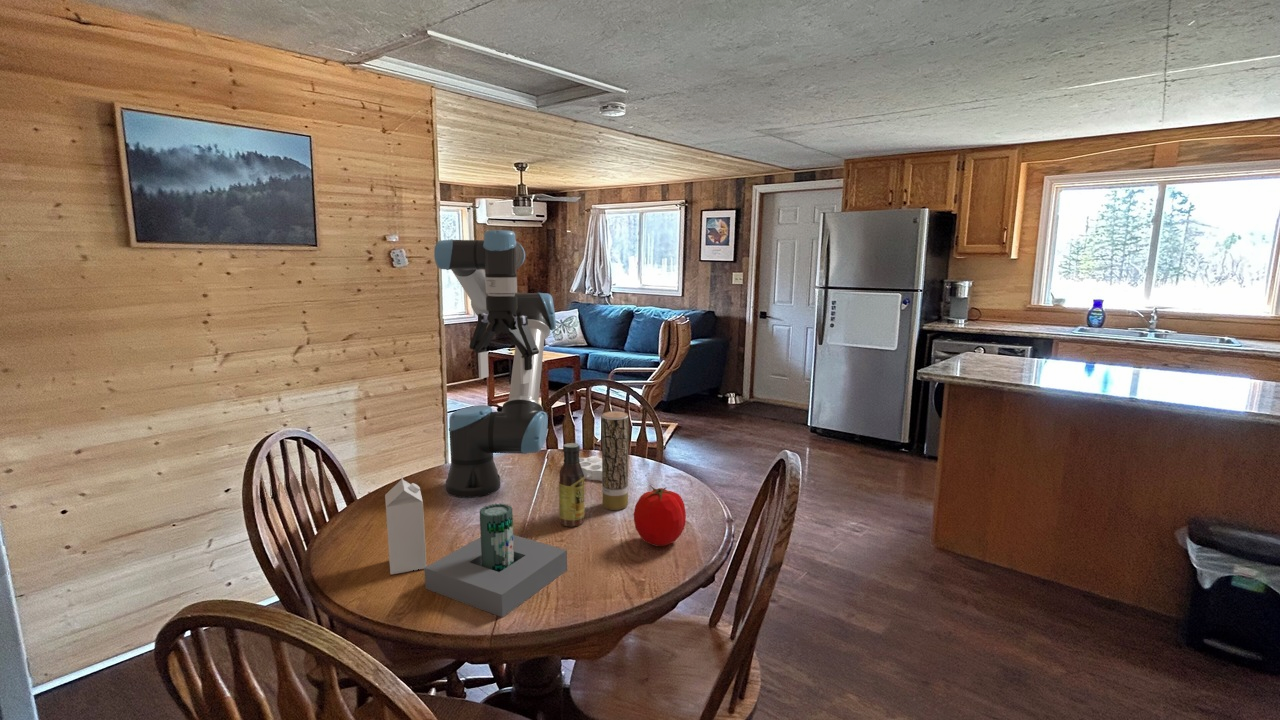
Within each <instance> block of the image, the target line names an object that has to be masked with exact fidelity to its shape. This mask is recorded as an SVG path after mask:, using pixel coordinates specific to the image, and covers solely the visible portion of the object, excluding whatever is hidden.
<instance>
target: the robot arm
mask: <svg viewBox="0 0 1280 720" xmlns="http://www.w3.org/2000/svg"><path fill="white" fill-rule="evenodd" d="M516 239H517V238H516V233H515V232H514V231H512V230H506V229H505V230H503V229H502V230H501V229H500V230H499V229H497V230H493V229H492V230H490V229H489V230H486V231H485V232H484V233H483V239H452V238H451V239H442V240H441V239H440V240H438V241H436V243H435V245H434V251H433V253H434V254H433V256H434V257H433V258H434V262H435V265H436V267H437V268H438V269H440V270H446V271H451V272H452V274H454V276H455V278H456V279H457V282H459V284H460V285H461V287H462V289H463V290H464V292H465V293H466V295H467V297H468V298H469V299H470V305H471V308H472V311H473V312H474V313H475V315H477V323H476V327H475V329H474V333H473V335H472V338H471V341H470V344H469V350H473V351H474V352H475V354H476V364H477V365H478V378H479V379H485V378H489V377H490V372H489V352H488V350H487V348H488V347H489V345H490V343H491V342H492V340H493V339H494V337H495V335H496V334H498V333H499V334H500V333H501V334H506V335H508V336H509V337H510V338H511V339H512V341H513V344H514V345H515V346H514V347H515V348H514V353H513V355H514V356H513V363H512V370H511V379H510V386H509V394H508V395H509V396H508V400H507V401H505V402H504V403H503V404H502V407H501V411H493V408H492V407H491V406H490V405H485V404H481V405H480V404H479V405H472V406H468V407H463V408H459V409H458V410H456V411H454V412H453V413H451V414H450V416H449V426H448V427H449V428H448V431H449V445H450V446H449V447H450V449H449V450H450V467H449V469H448V475H447V478H446V480H445V492H446V493H447V494H448V495H450V496H453V497H458V498H476V497H477V498H478V497H483V496H487V495H490V494H492V493H493V494H494V492H495V493H496V492H497V491H498V490H499V489H500V488H501V476H500V474H499V473H498V469H497V465H496V464H495V461H494V460H495V459H494V454H523V455H527V454H536V453H539V452H540V451H541V450H542V449H543V447H544V445H545V442H546V438H547V434H548V422H549V421H548V420H549V419H548V417H549V416H548V413H547V412H545V411H544V408H543V405H542V404H540V403H539V400H540V391H541V380H542V369H543V359H544V357H543V356H544V348H545V340H547V339H548V337H550V334H551V331H553V330H556V327H557V322H556V311H555V305H554V298H553V295H551V294H550V293H545V292H544V293H543V292H539V291H538V292H534V293H533V292H532V293H531V292H530V293H529V292H528V293H527V292H518V280H517V279H518V276H517V269H519V267H521V266H522V265H523V264H524V262H525V260H526V252H525V249H524V247H523V246H522V245H521V244H520V243H519V242H518V241H516Z"/></svg>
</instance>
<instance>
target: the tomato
mask: <svg viewBox="0 0 1280 720" xmlns="http://www.w3.org/2000/svg"><path fill="white" fill-rule="evenodd" d="M667 487H668V486H665V487H664V488H663V487H659V488H655V487H653V486H652V485H650V488H651V489H652V490H651V491H646V492H644V493H643V494H642V495H640V497H639V499H638V500H637V502H636V504H635V505H634V510H633V522H634V526H635V530H636V532H637V533H638V535H639V537H640V538H641V539H642V540H643V541H644V542H646V543H648V544H650V545H653V546H655V547H661V546H667V545H669V544H672V543H674V542H675V541H676V540H677V539H678V538H680V536H681V535H682V534H683V532H684V530H685V527H686V523H687V522H686V519H687V514H686V513H687V512H686V506H685V502H684V501H683V499H682V497H681V496H680V495H679V493H677V492H675V491H672V490H668V489H667Z"/></svg>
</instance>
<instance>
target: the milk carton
mask: <svg viewBox="0 0 1280 720" xmlns="http://www.w3.org/2000/svg"><path fill="white" fill-rule="evenodd" d="M400 475H401V478H400V480H399V481H398V482H397V483H396V484H395V485H394V486H392V488H391V489H390V490H389V491H388V492H387V493H385V495H384V498H385V499H384V500H385V514H386V527H387V528H386V529H387V542H388V543H387V544H388V559H389V560H388V561H389V574H390V575H397V574H403V573H408V572H413V570H414V571H418V569H419V570H424V568H425V567H427V553H426V552H427V551H426V537H425V536H426V535H425V519H424V517H425V516H424V515H425V514H424V503H423V502H424V501H423V497H422V492H421V487H420V486H419V485H418V484H416V483H414V482H412V483H409V481H406V480H404V477H403V474H400Z"/></svg>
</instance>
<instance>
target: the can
mask: <svg viewBox="0 0 1280 720" xmlns="http://www.w3.org/2000/svg"><path fill="white" fill-rule="evenodd" d="M513 516H514V515H513V508H512V506H511V505H509V504H506V503H493V504H488V505H485V506H483V507H482V508H481V509H479V528H480V529H479V531H480V537H481V560H482V567H485V568H488V569H491V570H494V571H497V572H500V571H502V570H503V569H505V568H507V567H508V566H510V565H511V564H513V563H514V547H513V535H514V521H513V518H514V517H513Z"/></svg>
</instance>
